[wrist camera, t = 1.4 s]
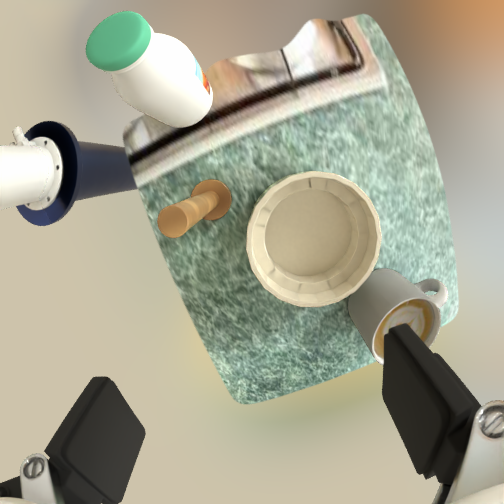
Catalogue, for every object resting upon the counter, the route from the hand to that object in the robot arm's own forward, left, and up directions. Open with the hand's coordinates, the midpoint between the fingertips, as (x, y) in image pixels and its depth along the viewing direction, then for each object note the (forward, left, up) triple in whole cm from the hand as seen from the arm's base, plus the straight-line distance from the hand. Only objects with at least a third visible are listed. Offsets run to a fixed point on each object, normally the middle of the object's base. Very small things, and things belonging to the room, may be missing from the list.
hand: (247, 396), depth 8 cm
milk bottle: (-19, +1, -29) cm, 35 cm away
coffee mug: (+19, +11, -29) cm, 36 cm away
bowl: (+4, +5, -29) cm, 29 cm away
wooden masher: (-6, -3, -29) cm, 29 cm away
